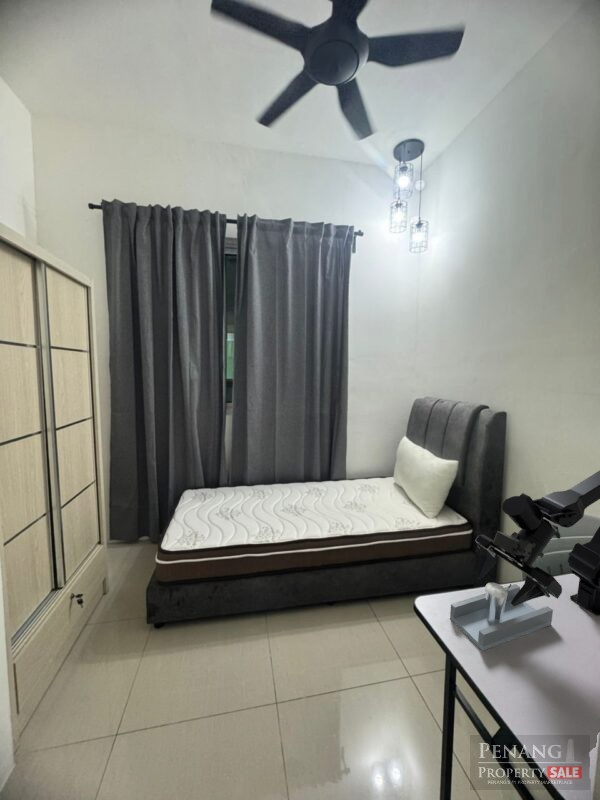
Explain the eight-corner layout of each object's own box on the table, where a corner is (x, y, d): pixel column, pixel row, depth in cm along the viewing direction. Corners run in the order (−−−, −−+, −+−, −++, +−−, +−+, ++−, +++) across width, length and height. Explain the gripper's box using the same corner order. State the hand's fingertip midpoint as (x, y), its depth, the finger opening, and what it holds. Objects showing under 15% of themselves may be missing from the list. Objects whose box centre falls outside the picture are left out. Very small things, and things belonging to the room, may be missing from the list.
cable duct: (514, 597, 87) (515, 584, 86) (551, 624, 78) (552, 609, 77) (450, 618, 80) (451, 603, 79) (482, 650, 71) (483, 634, 70)
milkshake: (511, 630, 75) (515, 591, 74) (487, 626, 76) (490, 588, 75) (503, 614, 79) (507, 578, 78) (480, 611, 80) (483, 575, 79)
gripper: (482, 504, 85) (447, 551, 83) (558, 543, 67) (516, 603, 65) (502, 527, 88) (468, 572, 86) (579, 569, 71) (539, 627, 69)
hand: (494, 591), depth 77 cm, fingers open, 9 cm apart
